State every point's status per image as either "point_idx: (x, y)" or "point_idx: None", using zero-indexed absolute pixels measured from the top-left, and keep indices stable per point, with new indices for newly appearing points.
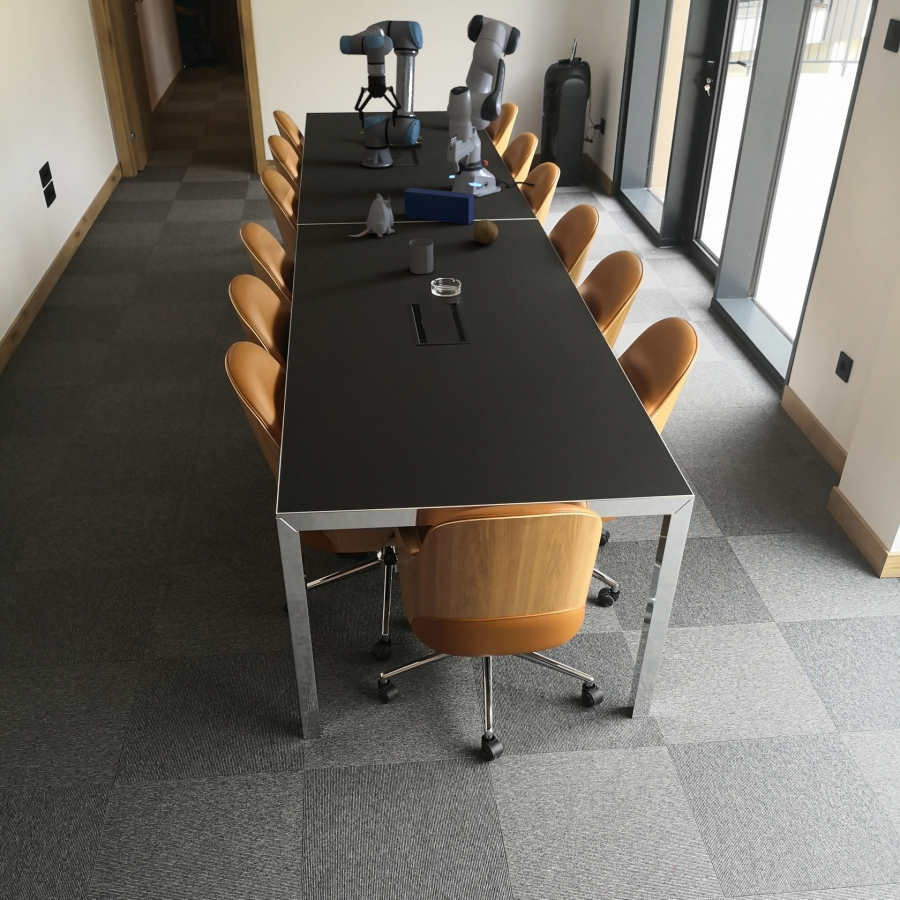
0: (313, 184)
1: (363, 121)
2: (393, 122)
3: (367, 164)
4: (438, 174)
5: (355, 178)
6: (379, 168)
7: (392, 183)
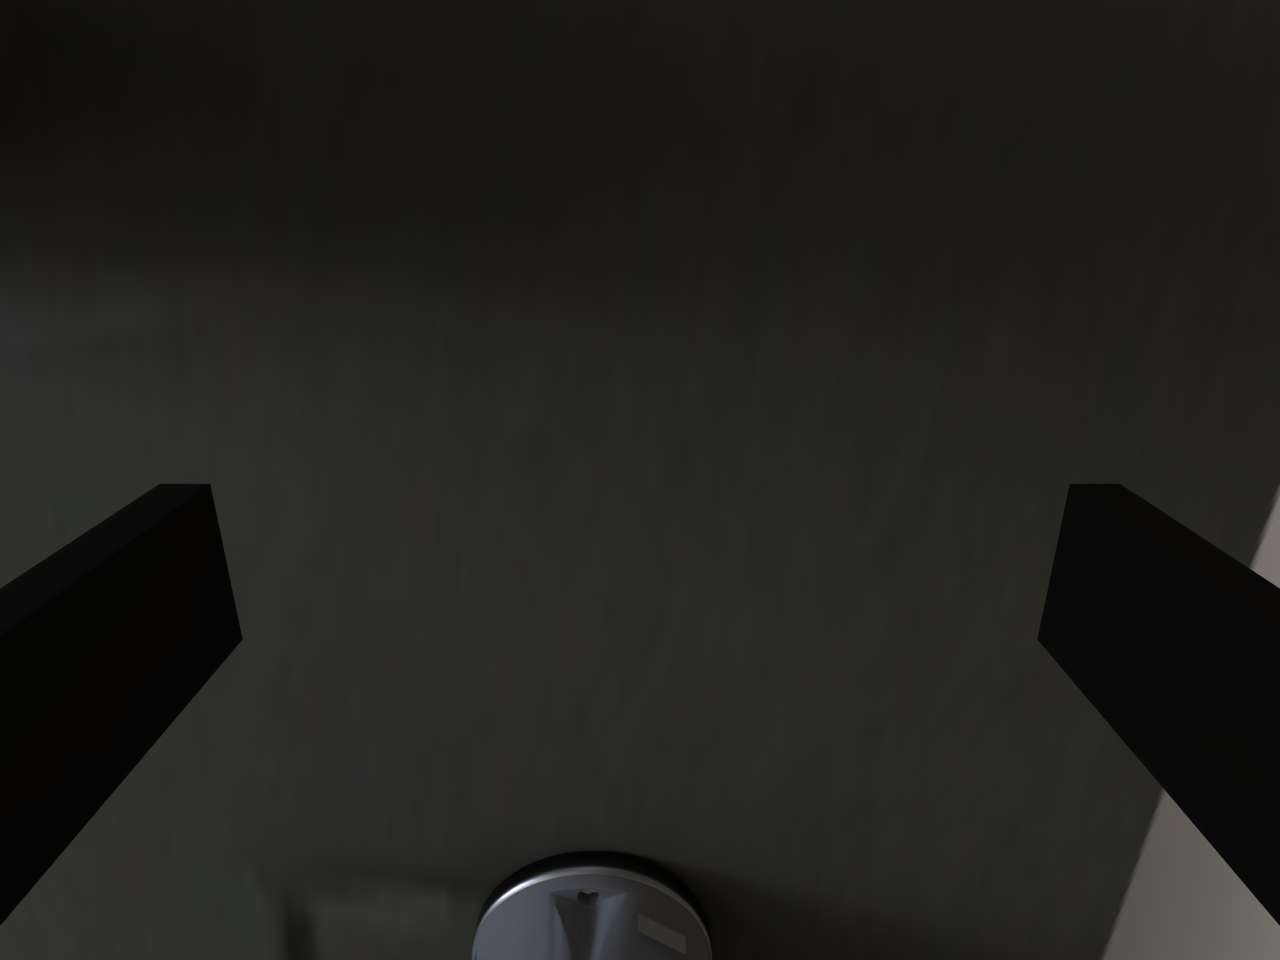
0: None
1: (1203, 572)
2: (142, 544)
3: (678, 902)
4: None
5: (817, 652)
6: (588, 852)
7: (518, 459)
